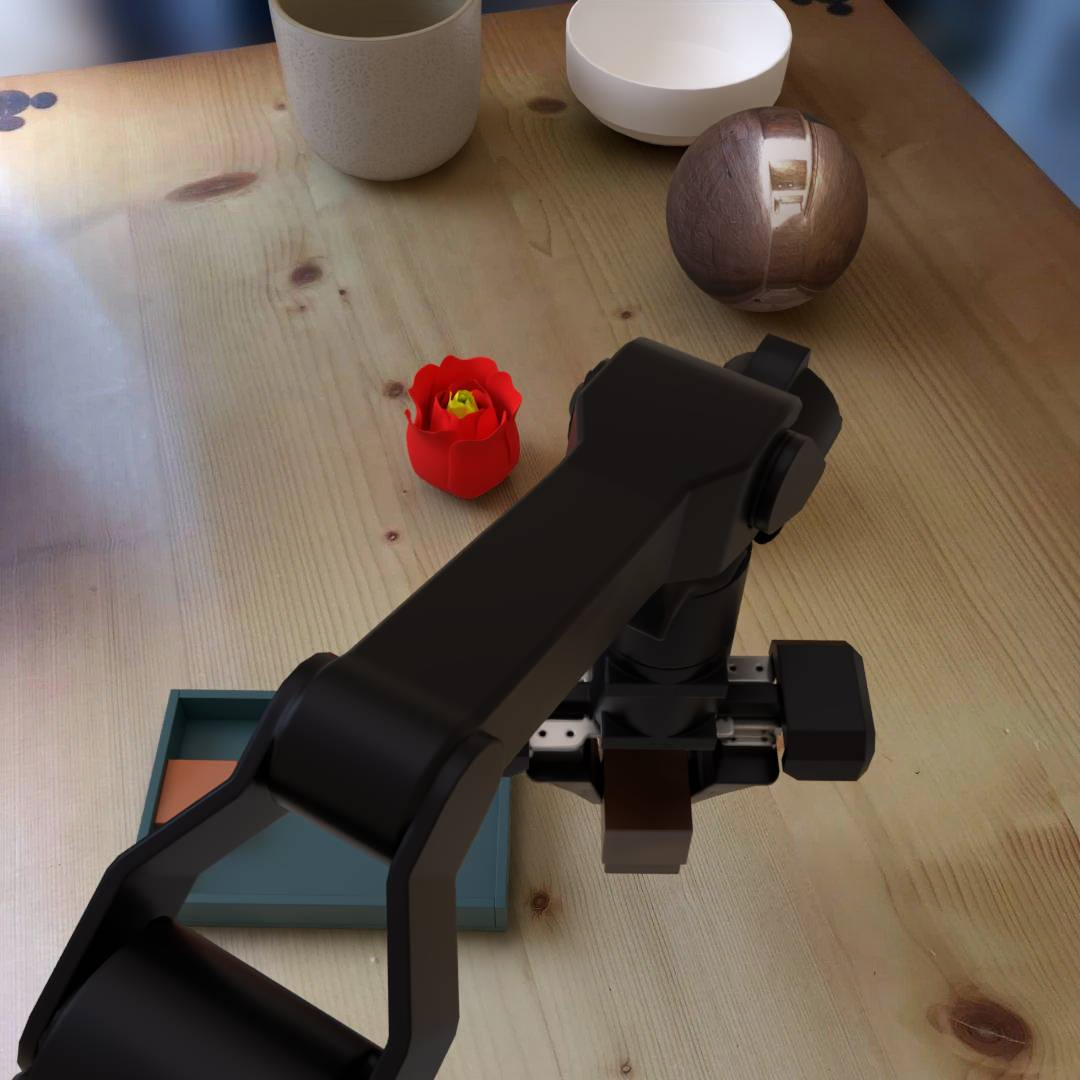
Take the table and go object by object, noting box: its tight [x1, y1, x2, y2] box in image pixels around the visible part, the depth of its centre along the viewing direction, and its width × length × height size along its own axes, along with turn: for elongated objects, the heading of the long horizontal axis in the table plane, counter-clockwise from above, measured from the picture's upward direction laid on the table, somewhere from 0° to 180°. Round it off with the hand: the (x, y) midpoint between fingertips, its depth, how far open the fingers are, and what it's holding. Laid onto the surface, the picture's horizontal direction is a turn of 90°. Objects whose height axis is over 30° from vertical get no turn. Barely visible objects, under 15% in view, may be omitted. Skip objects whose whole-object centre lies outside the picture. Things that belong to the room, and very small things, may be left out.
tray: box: [135, 688, 513, 932], centre depth 74 cm, size 20×13×3 cm, turn 89°
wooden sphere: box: [665, 105, 869, 313], centre depth 98 cm, size 15×15×15 cm
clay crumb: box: [154, 760, 238, 828], centre depth 74 cm, size 4×4×2 cm
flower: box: [404, 354, 523, 500], centre depth 88 cm, size 8×8×8 cm
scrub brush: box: [598, 738, 694, 875], centre depth 63 cm, size 4×8×5 cm, turn 179°
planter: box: [267, 0, 483, 182], centre depth 110 cm, size 17×17×15 cm
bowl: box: [565, 0, 793, 147], centre depth 116 cm, size 20×20×8 cm
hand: (640, 795), depth 64 cm, fingers closed on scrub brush, 4 cm apart
